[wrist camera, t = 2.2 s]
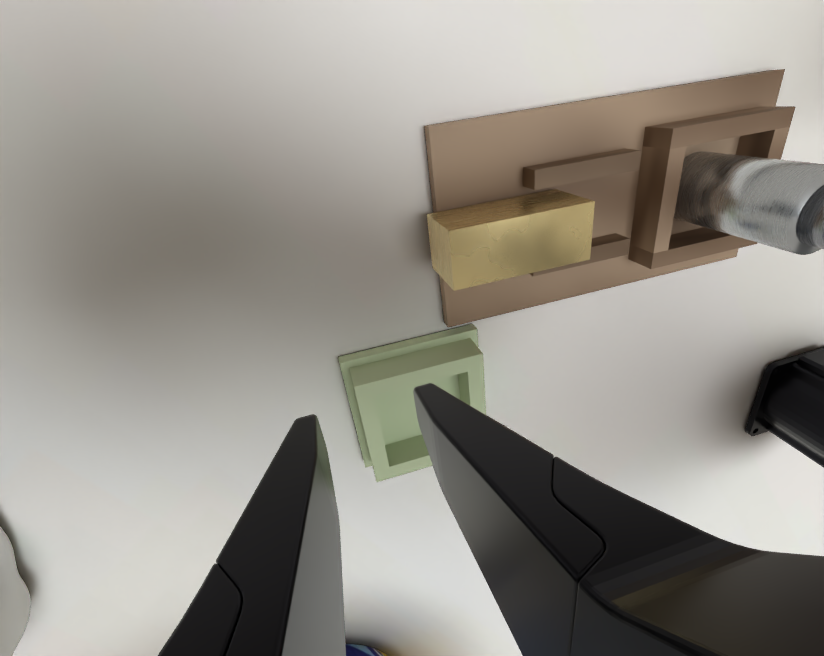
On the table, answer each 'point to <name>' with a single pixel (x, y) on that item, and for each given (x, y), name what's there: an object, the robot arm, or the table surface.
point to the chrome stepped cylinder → (755, 199)
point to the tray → (408, 393)
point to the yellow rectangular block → (510, 237)
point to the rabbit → (11, 599)
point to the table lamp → (362, 650)
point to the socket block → (604, 179)
